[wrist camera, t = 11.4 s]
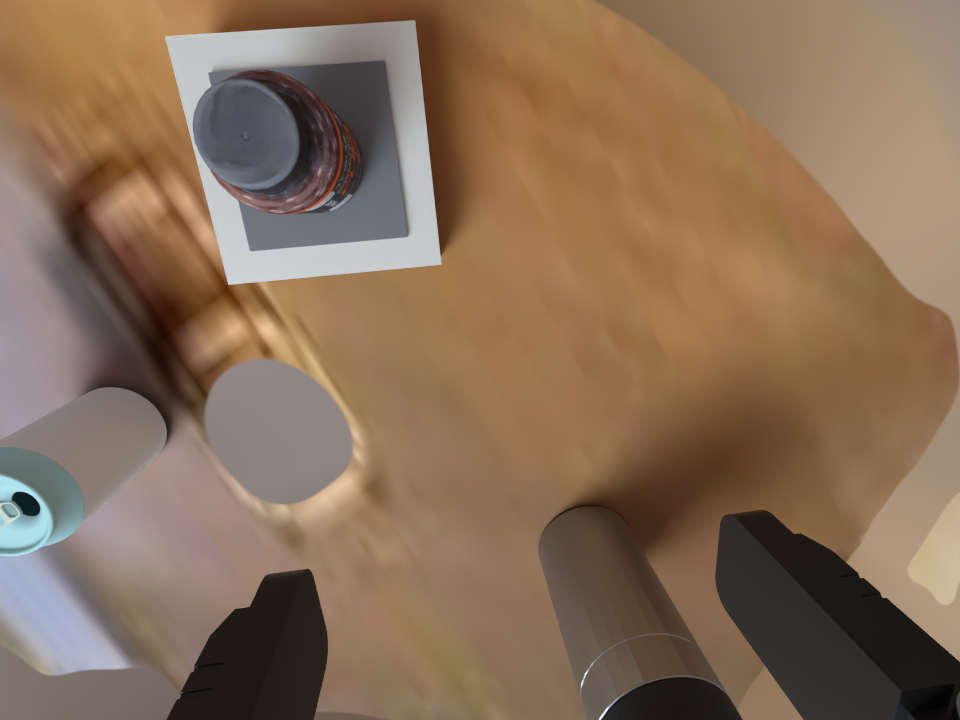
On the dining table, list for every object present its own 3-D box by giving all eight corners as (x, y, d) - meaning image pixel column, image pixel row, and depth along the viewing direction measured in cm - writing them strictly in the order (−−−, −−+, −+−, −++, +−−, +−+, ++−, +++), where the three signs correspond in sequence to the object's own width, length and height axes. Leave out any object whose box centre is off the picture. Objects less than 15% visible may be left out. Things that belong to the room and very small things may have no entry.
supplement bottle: (375, 204, 30) (342, 206, 19) (281, 220, 30) (195, 230, 19) (352, 99, 28) (301, 36, 17) (251, 115, 28) (136, 61, 17)
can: (97, 367, 37) (-52, 441, 26) (185, 411, 39) (82, 498, 27) (64, 436, 38) (-92, 535, 27) (150, 475, 40) (38, 583, 29)
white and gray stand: (440, 256, 37) (441, 265, 31) (255, 273, 36) (225, 285, 31) (418, 47, 32) (414, 17, 27) (205, 61, 31) (160, 33, 26)
